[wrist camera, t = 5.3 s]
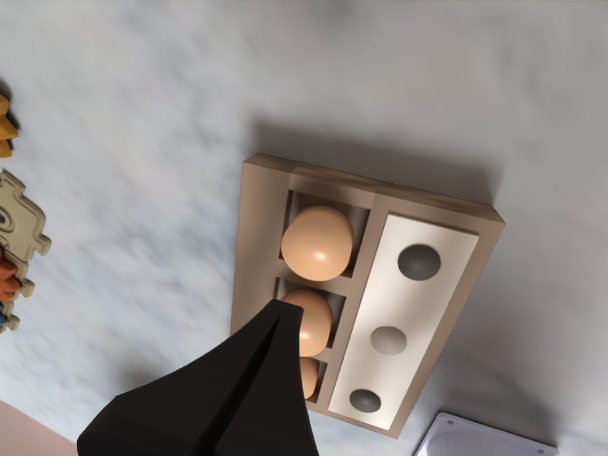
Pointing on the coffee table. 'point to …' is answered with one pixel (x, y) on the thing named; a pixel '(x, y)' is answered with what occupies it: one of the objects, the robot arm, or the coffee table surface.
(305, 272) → the button
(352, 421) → the button board
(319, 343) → the button
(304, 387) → the button
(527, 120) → the coffee table surface
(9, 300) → the gear puzzle
